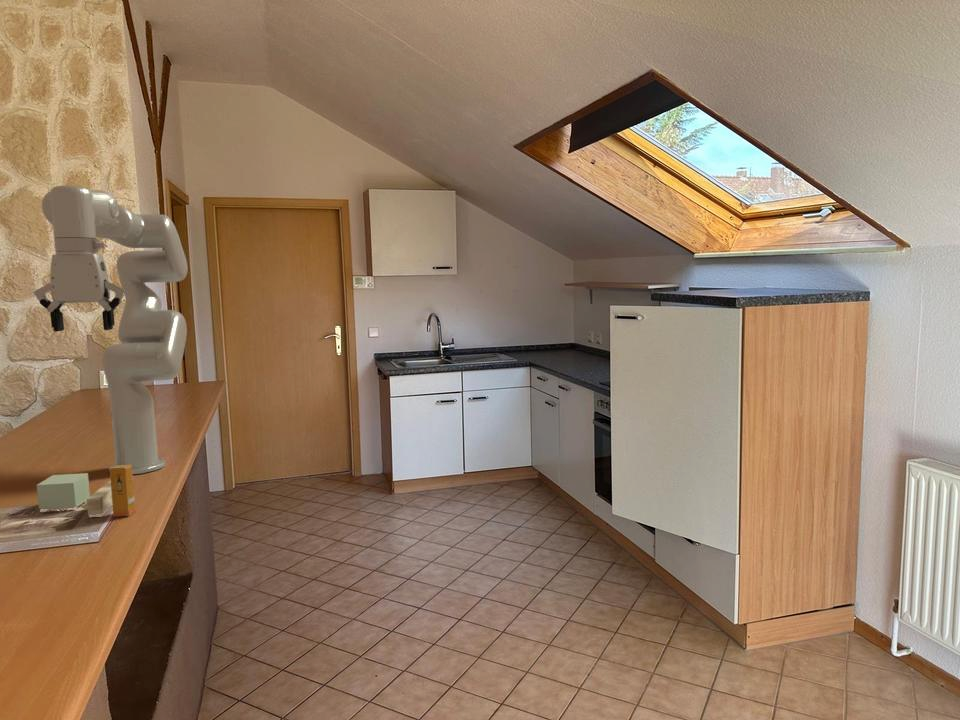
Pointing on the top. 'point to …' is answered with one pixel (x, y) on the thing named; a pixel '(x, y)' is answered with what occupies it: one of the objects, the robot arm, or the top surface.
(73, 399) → the top surface
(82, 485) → the green block
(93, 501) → the birch board
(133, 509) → the supplement box
